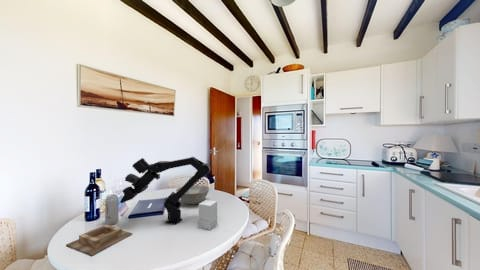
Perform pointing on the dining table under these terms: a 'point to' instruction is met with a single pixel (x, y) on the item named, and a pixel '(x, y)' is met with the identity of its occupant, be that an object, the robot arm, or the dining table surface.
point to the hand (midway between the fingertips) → (125, 199)
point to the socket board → (94, 251)
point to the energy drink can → (111, 209)
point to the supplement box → (207, 214)
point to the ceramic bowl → (195, 194)
